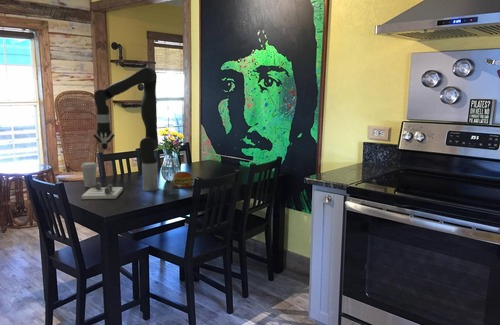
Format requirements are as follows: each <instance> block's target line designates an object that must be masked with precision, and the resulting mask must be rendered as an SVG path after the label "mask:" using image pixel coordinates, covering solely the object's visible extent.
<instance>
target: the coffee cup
mask: <svg viewBox="0 0 500 325" xmlns="http://www.w3.org/2000/svg"><path fill="white" fill-rule="evenodd" d="M97 167H98V165H97V164H96V162H92V161H91V162H83V163H82V164H81V166H80V168H81V169H82V176H83V183H84V184H83V185H84V188H95V187H96V183H97V182H96V181H97V180H96V178H97Z"/></svg>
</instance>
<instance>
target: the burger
mask: <svg viewBox="0 0 500 325" xmlns="http://www.w3.org/2000/svg"><path fill="white" fill-rule="evenodd" d="M193 177H194V176H193V174H192V173H190V172H188V171H178V172H176V173H175V174H173V175H172V185H173V186H174V187H175V188H177V189H186V188H191V187H192V186H193V185H194V178H193Z"/></svg>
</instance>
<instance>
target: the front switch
mask: <svg viewBox="0 0 500 325" xmlns="http://www.w3.org/2000/svg"><path fill="white" fill-rule="evenodd" d="M109 193H110V187H108V185H106V188H105V194H109Z"/></svg>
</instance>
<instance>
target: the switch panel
mask: <svg viewBox="0 0 500 325" xmlns="http://www.w3.org/2000/svg"><path fill="white" fill-rule="evenodd" d="M106 187H107V186H106ZM106 187H102V186H101V189H96V187H89V188H88V190H86V191H85V192H84V193H83V194H82V195H81V199H82V200H100V199H101V200H104V199H105V200H106V199H111V200H112V199H117V198H119V195H120V194H121V193H122V192H123V187H122V186H116V187H115V186H114V187H113V186H112V188H113V190H112V191H110V193H109V194H105V188H106Z"/></svg>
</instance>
